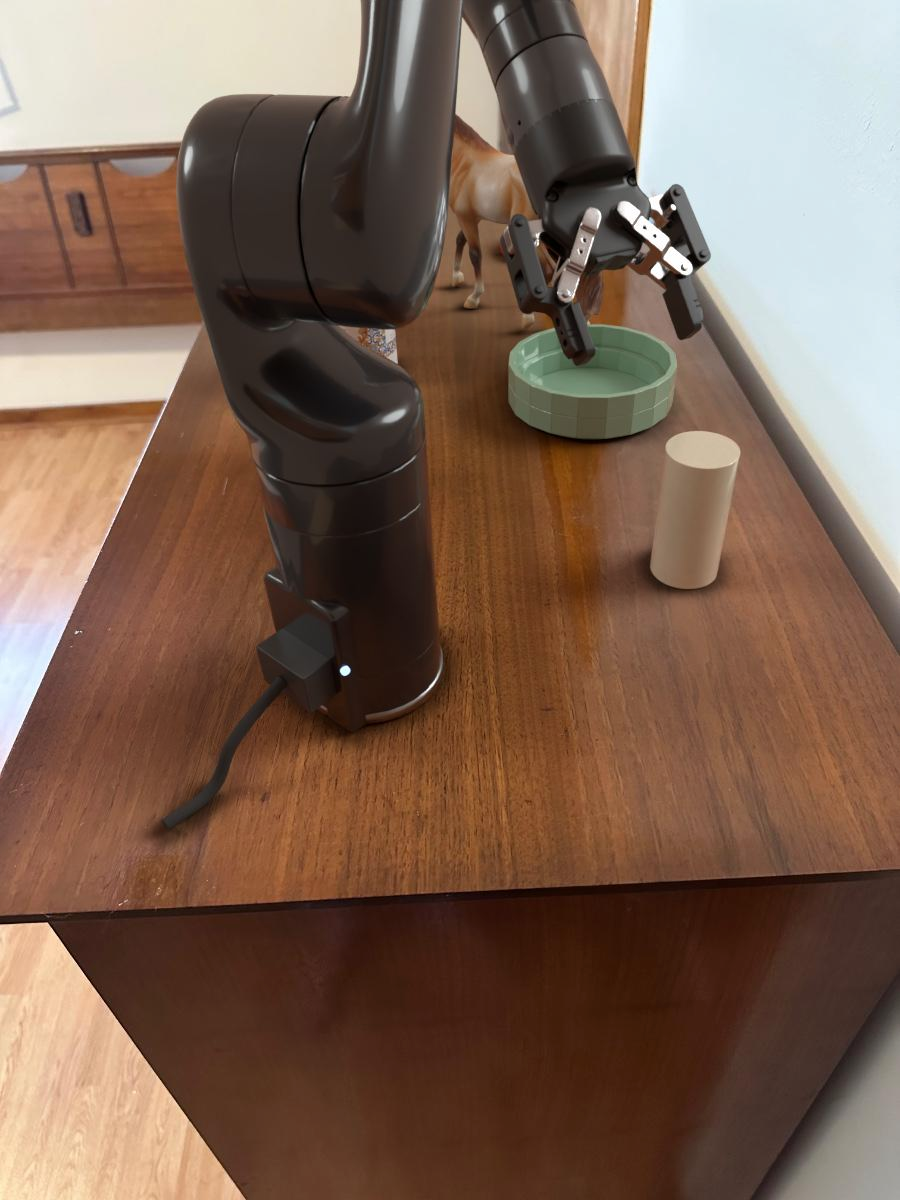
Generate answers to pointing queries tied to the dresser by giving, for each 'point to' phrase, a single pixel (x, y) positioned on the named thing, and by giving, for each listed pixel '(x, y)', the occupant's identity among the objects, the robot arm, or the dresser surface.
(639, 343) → the bowl
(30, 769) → the dresser surface
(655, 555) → the beige cylinder
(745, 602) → the dresser surface
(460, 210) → the horse figurine
